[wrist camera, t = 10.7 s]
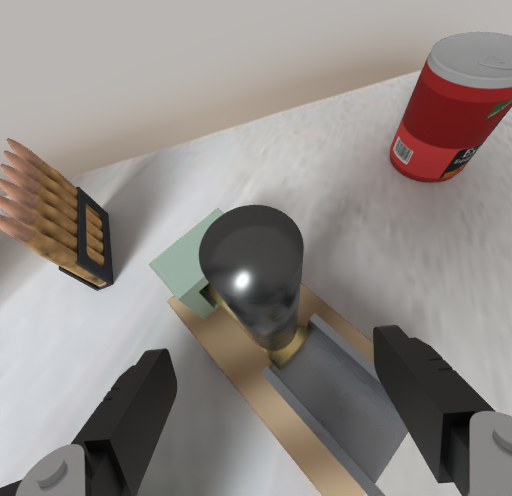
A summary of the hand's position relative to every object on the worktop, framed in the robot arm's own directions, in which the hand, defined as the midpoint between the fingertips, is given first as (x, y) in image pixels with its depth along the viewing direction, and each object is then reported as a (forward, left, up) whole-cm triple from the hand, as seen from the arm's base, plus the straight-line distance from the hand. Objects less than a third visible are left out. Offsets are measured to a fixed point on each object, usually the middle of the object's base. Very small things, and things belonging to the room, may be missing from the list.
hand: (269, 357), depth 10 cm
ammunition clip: (-24, -5, -13) cm, 27 cm away
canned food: (-4, +29, -13) cm, 32 cm away
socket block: (-10, +2, -11) cm, 15 cm away
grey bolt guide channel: (+4, +2, -11) cm, 12 cm away
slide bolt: (-5, +2, -11) cm, 13 cm away
